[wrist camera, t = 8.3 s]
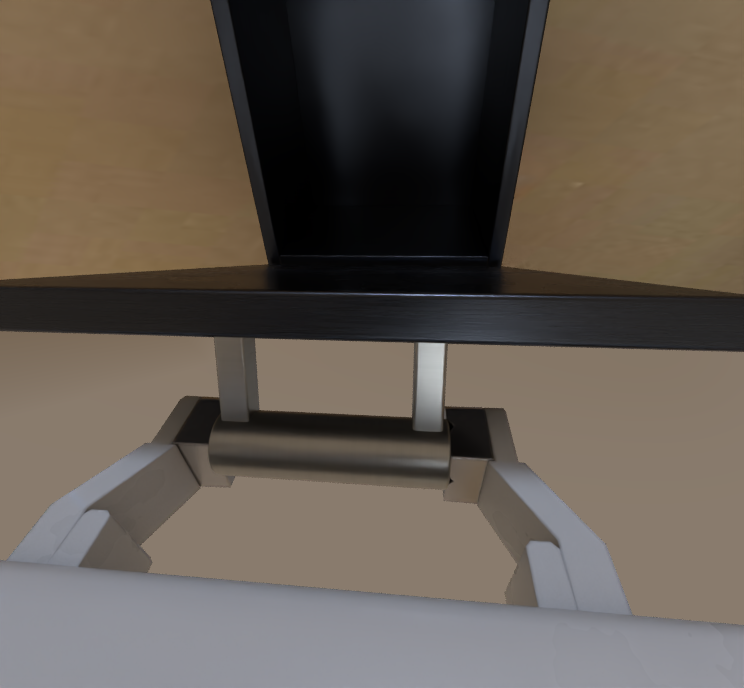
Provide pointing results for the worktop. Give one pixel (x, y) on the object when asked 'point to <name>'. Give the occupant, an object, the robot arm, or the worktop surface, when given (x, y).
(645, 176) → the worktop surface
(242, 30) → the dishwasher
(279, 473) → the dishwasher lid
